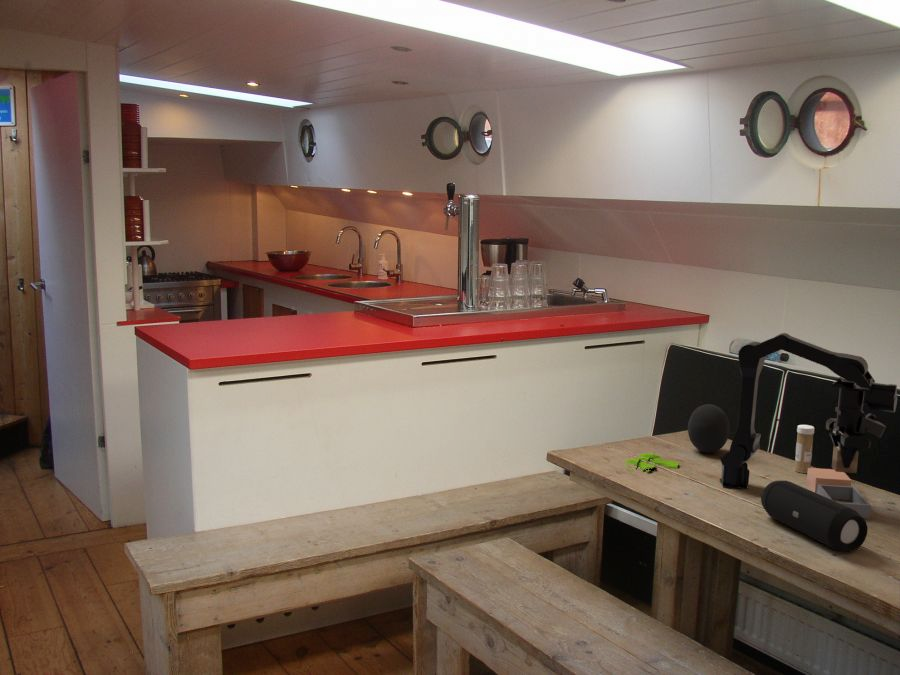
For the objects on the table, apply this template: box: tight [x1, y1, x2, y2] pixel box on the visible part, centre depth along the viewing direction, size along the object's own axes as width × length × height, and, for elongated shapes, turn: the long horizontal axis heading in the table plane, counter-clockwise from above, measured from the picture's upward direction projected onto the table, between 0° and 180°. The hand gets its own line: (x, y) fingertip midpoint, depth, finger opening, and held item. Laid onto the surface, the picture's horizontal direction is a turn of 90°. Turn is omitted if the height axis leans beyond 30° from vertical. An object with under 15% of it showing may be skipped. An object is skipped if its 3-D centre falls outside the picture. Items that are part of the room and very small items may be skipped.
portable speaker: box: [760, 480, 868, 552], centre depth 210 cm, size 26×10×10 cm, turn 21°
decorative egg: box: [687, 403, 730, 454], centre depth 275 cm, size 12×12×15 cm
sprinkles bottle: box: [794, 424, 815, 474], centre depth 258 cm, size 5×5×14 cm
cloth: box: [625, 452, 680, 475], centre depth 261 cm, size 20×22×2 cm
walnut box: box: [831, 445, 860, 474], centre depth 229 cm, size 5×4×6 cm
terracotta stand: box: [805, 467, 853, 493], centre depth 243 cm, size 9×9×4 cm
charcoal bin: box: [817, 485, 872, 520], centre depth 229 cm, size 9×14×4 cm, turn 172°
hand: (844, 465), depth 229 cm, fingers closed on walnut box, 4 cm apart
